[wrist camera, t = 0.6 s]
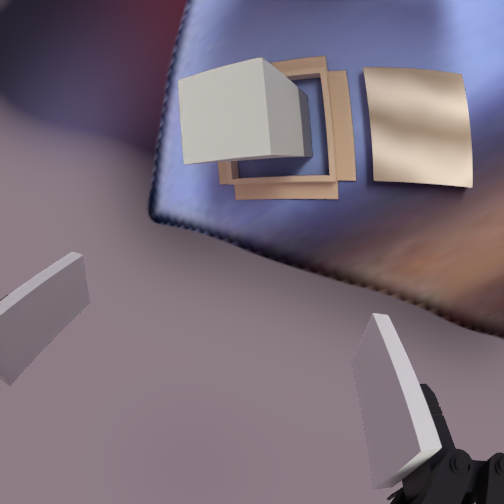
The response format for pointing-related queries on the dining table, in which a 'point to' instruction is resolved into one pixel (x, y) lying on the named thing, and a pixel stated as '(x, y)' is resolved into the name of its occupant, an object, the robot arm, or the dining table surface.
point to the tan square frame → (337, 139)
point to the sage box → (243, 115)
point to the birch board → (419, 126)
